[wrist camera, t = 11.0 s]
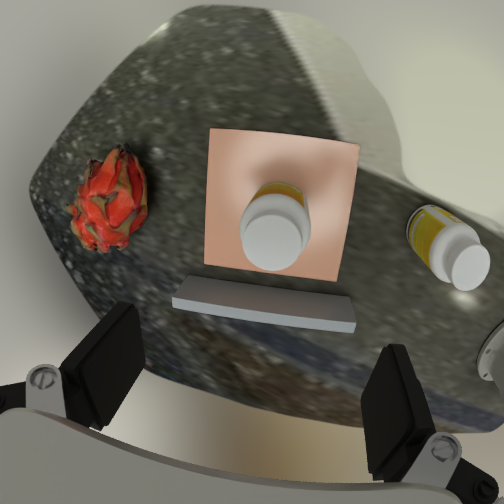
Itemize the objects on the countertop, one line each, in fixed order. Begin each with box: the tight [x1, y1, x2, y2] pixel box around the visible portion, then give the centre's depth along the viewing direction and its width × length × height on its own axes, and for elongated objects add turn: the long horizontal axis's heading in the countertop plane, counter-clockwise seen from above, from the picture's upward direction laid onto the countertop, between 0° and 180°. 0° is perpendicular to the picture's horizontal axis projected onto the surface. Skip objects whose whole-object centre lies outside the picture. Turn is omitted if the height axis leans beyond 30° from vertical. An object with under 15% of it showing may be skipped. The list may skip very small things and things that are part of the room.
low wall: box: [172, 275, 356, 333], centre depth 31 cm, size 18×1×5 cm, turn 86°
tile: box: [204, 128, 360, 281], centre depth 29 cm, size 14×14×1 cm
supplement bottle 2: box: [406, 205, 490, 291], centre depth 23 cm, size 5×5×10 cm
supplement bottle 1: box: [239, 181, 311, 271], centre depth 24 cm, size 5×5×10 cm
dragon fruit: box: [66, 143, 148, 253], centre depth 28 cm, size 8×8×12 cm
